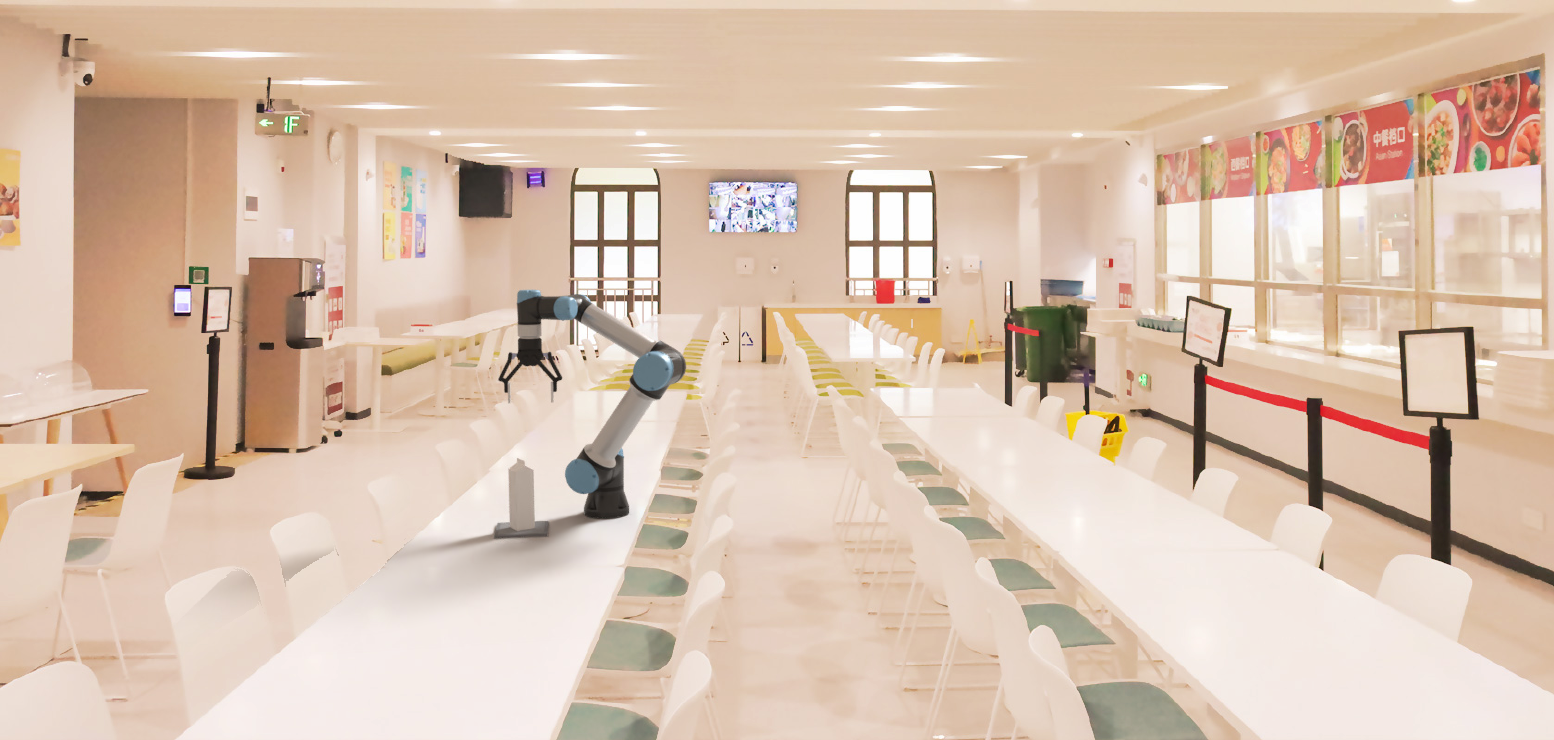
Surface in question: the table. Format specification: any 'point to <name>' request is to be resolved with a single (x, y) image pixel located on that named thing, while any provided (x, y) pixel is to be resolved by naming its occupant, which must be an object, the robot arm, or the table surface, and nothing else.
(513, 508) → the milk
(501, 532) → the mat
